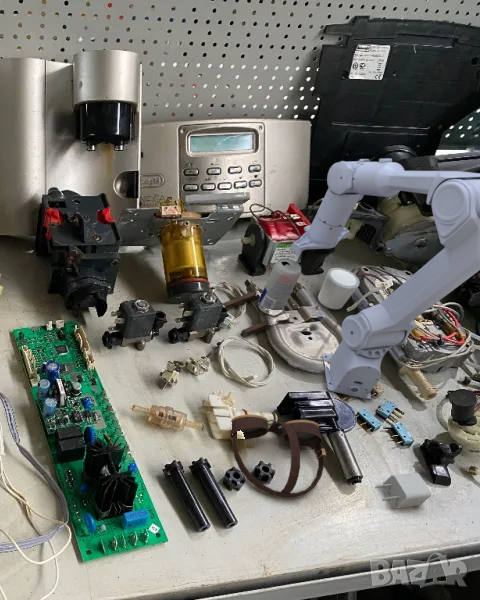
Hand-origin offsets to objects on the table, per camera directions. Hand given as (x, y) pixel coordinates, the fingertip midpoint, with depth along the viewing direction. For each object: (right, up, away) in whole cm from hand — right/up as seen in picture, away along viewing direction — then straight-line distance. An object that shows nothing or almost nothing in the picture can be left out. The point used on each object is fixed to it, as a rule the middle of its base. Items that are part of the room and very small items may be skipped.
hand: (305, 271), depth 112 cm
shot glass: (+9, -7, +7) cm, 13 cm away
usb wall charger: (+2, -38, -28) cm, 47 cm away
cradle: (-11, -9, +1) cm, 15 cm away
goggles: (-16, -33, -25) cm, 45 cm away
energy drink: (-7, -8, +3) cm, 11 cm away
